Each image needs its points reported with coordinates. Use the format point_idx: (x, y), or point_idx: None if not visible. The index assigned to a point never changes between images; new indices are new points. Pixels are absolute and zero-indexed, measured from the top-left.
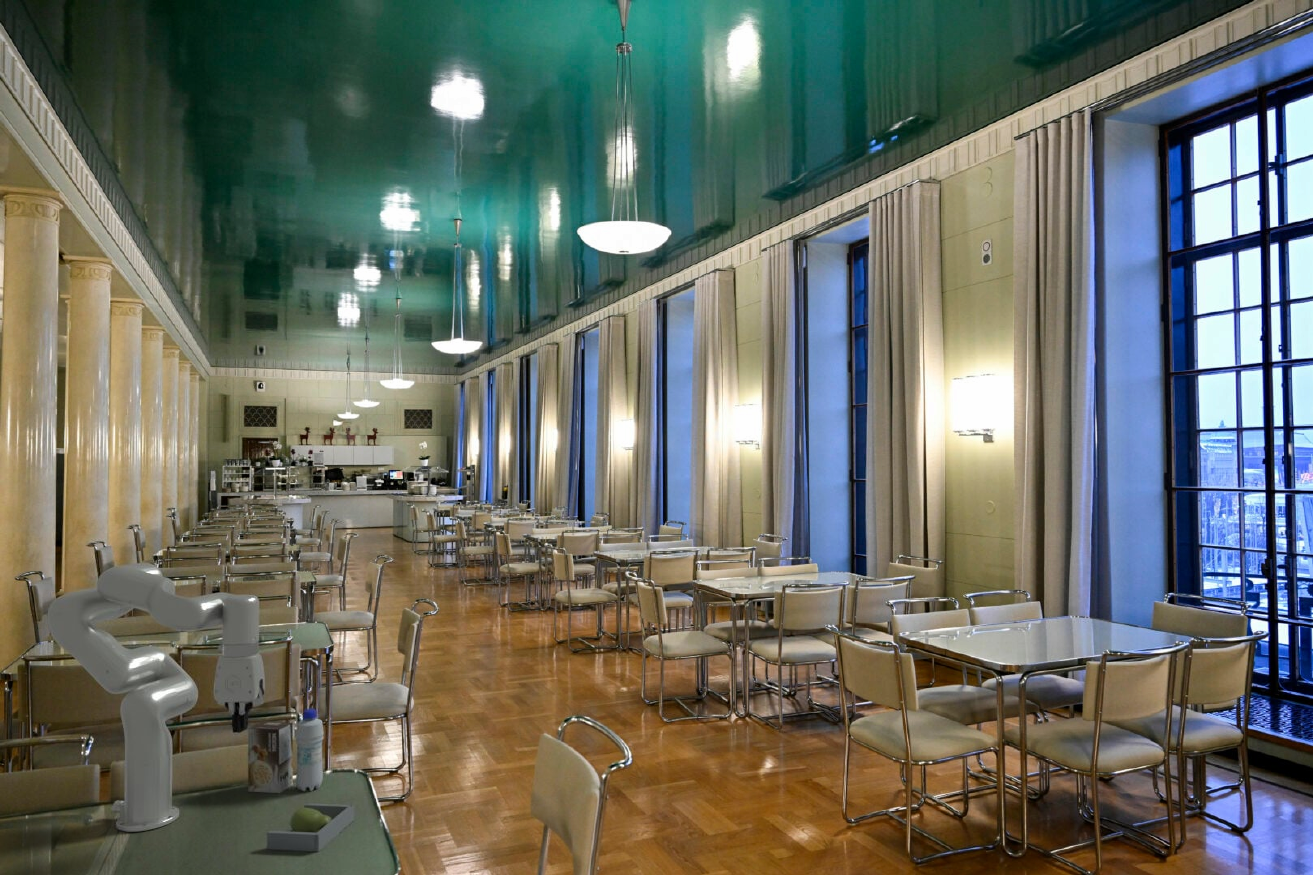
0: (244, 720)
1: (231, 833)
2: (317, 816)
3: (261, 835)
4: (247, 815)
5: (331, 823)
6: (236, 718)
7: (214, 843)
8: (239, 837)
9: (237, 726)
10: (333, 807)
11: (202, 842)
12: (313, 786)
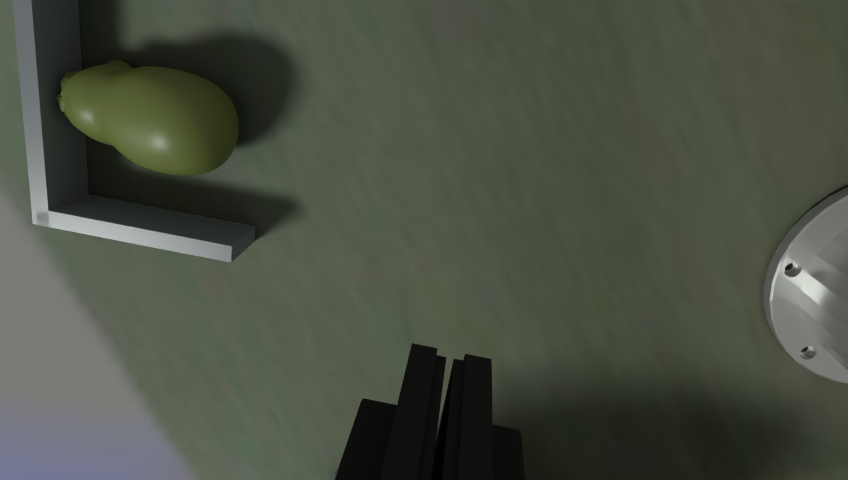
0: (345, 457)
1: (483, 128)
2: (102, 101)
3: (354, 99)
4: (489, 290)
5: (21, 39)
6: (442, 474)
7: (514, 33)
8: (434, 86)
9: (424, 382)
10: (112, 220)
11: (569, 47)
12: (333, 475)
